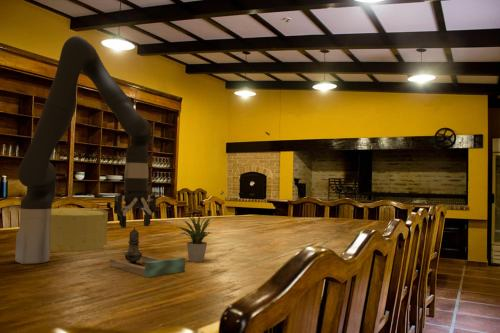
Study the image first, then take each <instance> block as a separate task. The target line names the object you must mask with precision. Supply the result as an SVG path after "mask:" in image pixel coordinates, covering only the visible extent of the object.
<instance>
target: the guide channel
mask: <svg viewBox="0 0 500 333" xmlns="http://www.w3.org/2000/svg"><path fill="white" fill-rule="evenodd" d="M140 263H144V266H142V265H140V266H138V265H135V264H131V263H128V261H123V260H120V259H115V258H110V259H109V267H112V268H116V269H119V270H123V271H126V272H129V273H131V274H135V275H139V276H141V277H142V276H143V277H146V278H151V277H159V276H164V275H171V274H177V273H183V272H185V271H186V270H185V269H186V258H185V257H176V258H175V257H174V258H167V259H164V258H163V259H162V258H159V257H155V256H150V255H145V254H144V255H143V254H142V257H141V259H140Z"/></svg>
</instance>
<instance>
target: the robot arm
mask: <svg viewBox="0 0 500 333" xmlns="http://www.w3.org/2000/svg"><path fill="white" fill-rule="evenodd" d="M59 55H60V56H59V60H58V64H57V68H56V72H55V75H54V78H53V80H52V84H51V87H50V89H49V91H48V92H49V93H48V96H47V97H46V100H45V103H44V105H43V108H42V110H41V114H40V117H39V120H38V122H37V124H36V127H35V130H34V134H33V137H32V140H31V142H30V144H29V146H28V149H27V150H26V152H25V154H24V157H23V159H22V161H20V162H21V163H20V165H19V168H18V170H17V176H18V177H17V178H18V180H19V182H20V183H21V185H23V186H24V187H26V193H25V195H24V196H23V198H22V199H21V201H20V209H19V224H18V225H19V226H18V228H19V229H18V231H16V238H15V254H14V255H15V256H14V259H15V260H14V261H15V262H16V263H18V264H22V265H26V264H27V265H28V264H40V263H41V264H42V263H47V262H49V261H50V254H51V253H50V252H51V251H50V233H51V213H52V209H53V203H54V201H55V197H56V195H55V194H56V188H57V187H56V186H57V170H56V167H55V166H54V164H53V163H51V162H50V160H51V157H52V154H53V153H54V149H55V148H56V147H57V145H58V143H59V142H60V140H62V138H63V137H64V136H65V134H66V132H67V131H68V130H69V128H70V126H71V124H72V121H73V118H74V116H75V112H76V109H77V91H78V90H77V88H78V87H77V86H78V80H79V76H80V75H81V72H82V73H83V74H85V76H86V77H87V78H88V79H89V80H90V81H91V82H92V84H94V86H95V89H96V90H97V91H98V93H99V95H100V97H101V99H102V100H103V101H104V103H105V104H106V106H107V107H108V108H109V110H110V111H111V112H112V113H113V115H114V116H115V117H116V119H117V120H118V121H117V122H118V123H119V124H120V126H121V127H122V129H123V130H124V132H125V133H126V134H127V135H128V136H130V140H129V145H128V146H127V147H126V151H125V168H124V185H123V186H124V187H123V188H124V189H123V190H124V194H123V195H122V194H116V195H115V196H114V203H113V205H114V206H113V214H116V215H118V216H119V218H118V219H119V220H118V221H119V222H118V223H119V226H120V228H122V229H126V227H127V214H128V213H129V211H131V210H132V209H140V210H142V212H143V227H149V226H150V225H151V215H152V214H154V213H156V212H157V197H156V195H155V194H149V195H148V191H149V147H150V142H151V136H152V128H151V124H150V122H149V121H148V120H147V119H145V118H144V117H142V116H141V115H140V114H139V112H138V111H137V109H135V107H134V104H133V102H132V101H131V99H130V98H129V97H128V95H127V94H126V93H125V92H124V90H123V89H122V88H121V86H120V85H119V84H118V83H117V82H116V81H115V79H114V78H113V77H112V76H111V75H110V72H108V70H107V68H106V67H105V65H104V63H103V61H102V59H101V57H100V56H99V54H98V52H97V50H96V48H95V47H94V46H93V45H92V44H91V43H90V42H89V41H88V40H86V39H85V38H84V37H82V36H79V35H74V36H70V37H69V38H68V39H66V40H65V42H64V44H63V45H62V48H61V51H60V54H59ZM147 201H148V203H147ZM123 202H124V204H123Z"/></svg>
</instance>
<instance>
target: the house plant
mask: <svg viewBox="0 0 500 333" xmlns="http://www.w3.org/2000/svg"><path fill="white" fill-rule="evenodd" d="M188 218H189V219H190V221H191V223H192V224H190V223H189V222H188V221H187V220H184V219H179V220H181V222H183V223H185V224H186V225H187V226H188V227H189V229H188V228H187V227H182V226H176V228H177V229H180V230H178V231H179V232H181V231H183V232H181V233H179V236H181V235H186V236H188V237H189V238H190V240H191V241H187V242H186V248H187V255H188V256H187V258H188V262H192V263H202V262H204V261H205V256H206V251H207V246H208V242H206V241H203V240H204V239H205V237H207V236H208V235H210V234H211V232H210V231H206V230H207V228H208V227H209V226H210V224H211V222H210V221H211V219H212V217H204V218H203V220H202V221H201V216H200V214H198V219H197V220H196V219H195V218H194V217H192V216H190V215H189V216H188ZM200 221H201V222H200ZM192 225H193V227H192Z"/></svg>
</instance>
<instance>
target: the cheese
mask: <svg viewBox="0 0 500 333" xmlns="http://www.w3.org/2000/svg"><path fill="white" fill-rule="evenodd" d="M108 218H109V212H108V211H107V210H106V209H102V208H101V209H100V208H89V207H88V208H87V207H86V208H83V207H82V208H81V207H68V208H67V207H65V208H64V207H62V208H61V207H60V208H52V213H51V233H50V252H55V253H57V252H59V253H76V252H91V251H98V250H99V251H100V250H103V249H104V246H105V245H106V244H107V240H108Z"/></svg>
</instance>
